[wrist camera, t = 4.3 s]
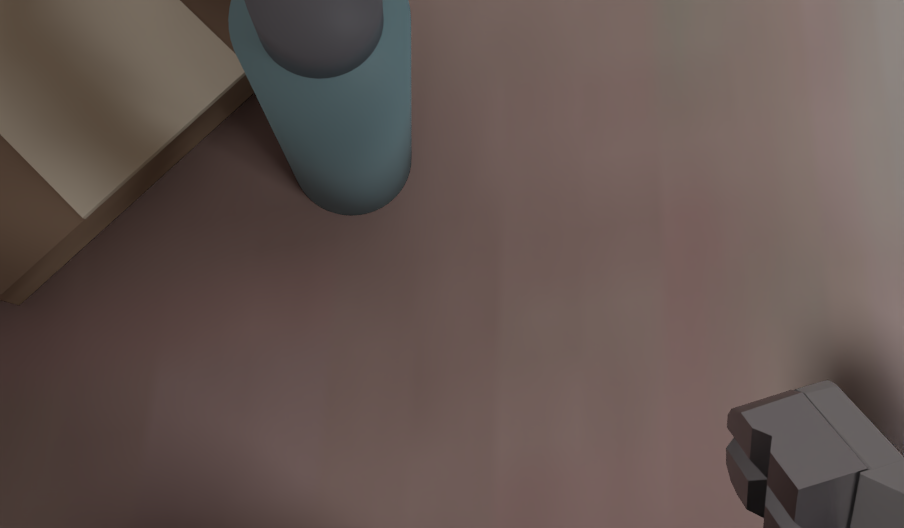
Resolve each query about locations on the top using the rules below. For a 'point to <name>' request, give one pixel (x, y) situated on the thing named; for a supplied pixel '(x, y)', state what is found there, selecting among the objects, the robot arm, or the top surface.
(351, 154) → the peg
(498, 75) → the top surface
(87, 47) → the floor panel
